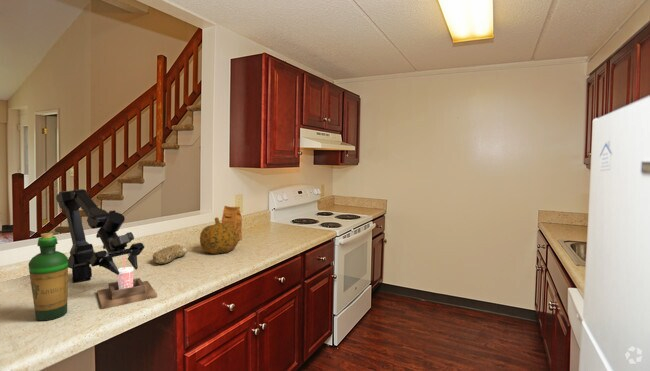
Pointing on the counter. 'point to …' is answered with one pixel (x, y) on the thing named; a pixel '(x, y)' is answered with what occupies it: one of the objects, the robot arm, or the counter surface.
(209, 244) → the decorative pumpkin
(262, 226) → the counter surface
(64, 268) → the bottle
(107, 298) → the cup holder
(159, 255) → the tan rounded lump
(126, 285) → the beverage cup
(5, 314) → the counter surface
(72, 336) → the counter surface
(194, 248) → the counter surface
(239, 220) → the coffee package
